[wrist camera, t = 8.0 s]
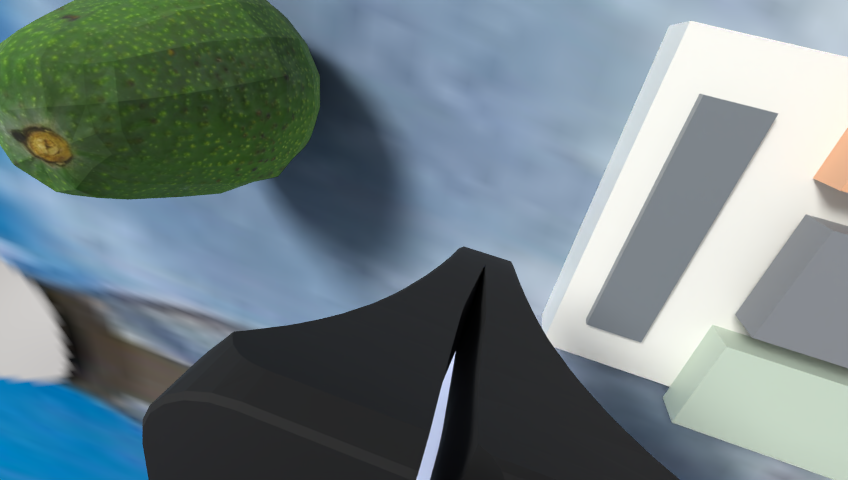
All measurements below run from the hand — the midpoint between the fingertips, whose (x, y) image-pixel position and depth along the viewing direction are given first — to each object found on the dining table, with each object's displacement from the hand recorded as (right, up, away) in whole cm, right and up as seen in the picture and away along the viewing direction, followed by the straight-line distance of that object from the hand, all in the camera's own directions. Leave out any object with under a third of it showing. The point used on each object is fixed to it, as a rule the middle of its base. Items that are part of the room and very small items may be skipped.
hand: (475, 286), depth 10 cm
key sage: (+14, -5, +7) cm, 17 cm away
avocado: (-8, +9, +10) cm, 16 cm away
